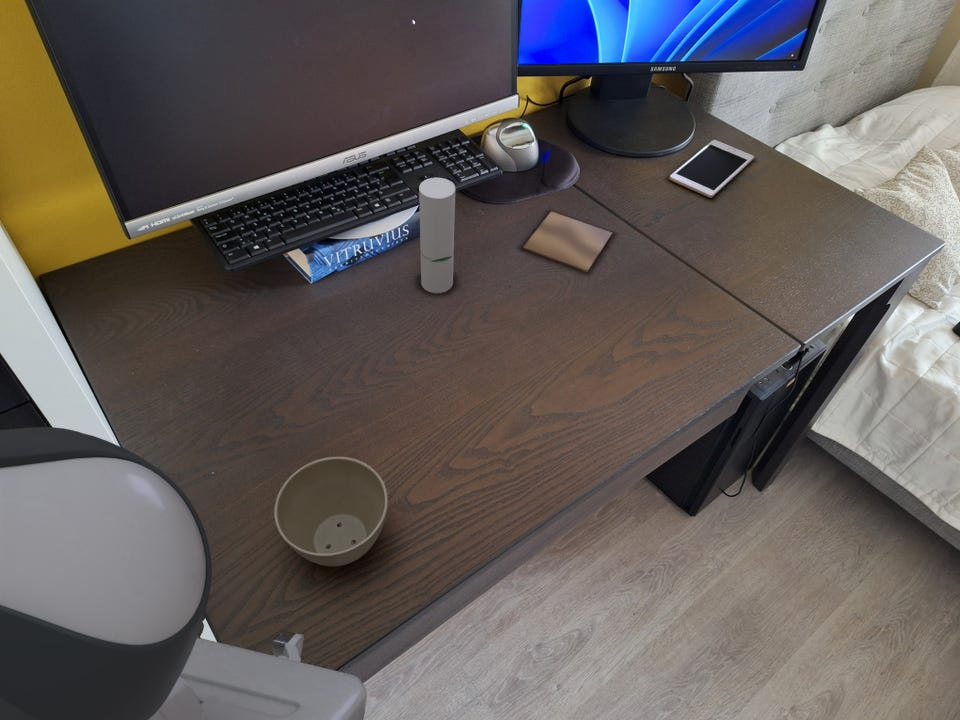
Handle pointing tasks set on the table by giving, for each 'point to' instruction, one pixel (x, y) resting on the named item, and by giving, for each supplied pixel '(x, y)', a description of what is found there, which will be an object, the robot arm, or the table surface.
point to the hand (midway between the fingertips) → (243, 631)
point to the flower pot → (332, 510)
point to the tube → (437, 234)
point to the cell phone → (711, 168)
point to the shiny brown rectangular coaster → (568, 241)
